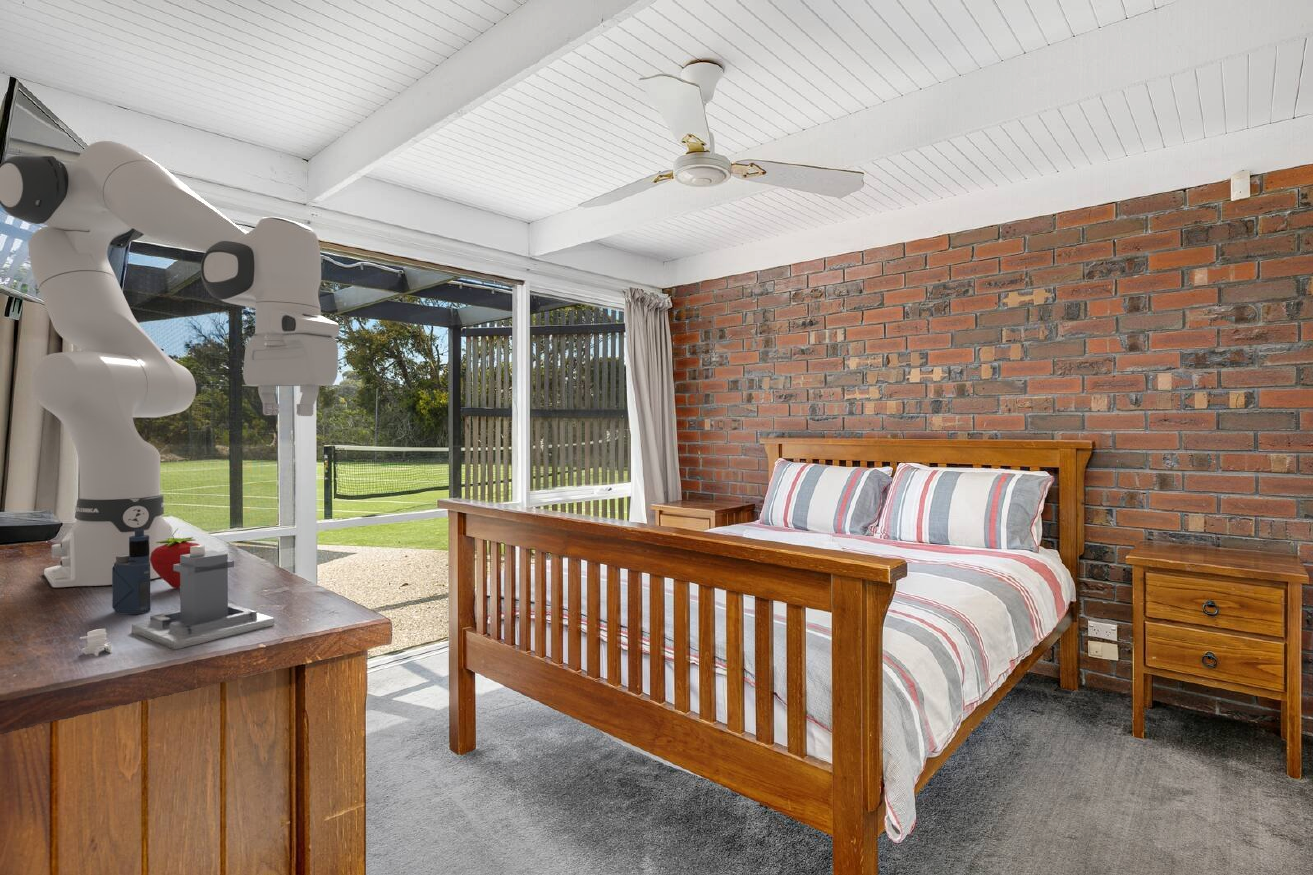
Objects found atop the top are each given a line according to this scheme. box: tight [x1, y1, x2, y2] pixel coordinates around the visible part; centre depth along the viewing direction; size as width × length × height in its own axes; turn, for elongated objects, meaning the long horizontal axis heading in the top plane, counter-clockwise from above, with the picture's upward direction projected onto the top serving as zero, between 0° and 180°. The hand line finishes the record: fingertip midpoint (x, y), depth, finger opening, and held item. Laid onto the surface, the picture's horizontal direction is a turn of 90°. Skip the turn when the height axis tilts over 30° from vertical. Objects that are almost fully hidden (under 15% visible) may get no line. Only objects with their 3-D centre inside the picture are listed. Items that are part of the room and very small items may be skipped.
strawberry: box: [150, 529, 200, 589], centre depth 112 cm, size 6×8×10 cm
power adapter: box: [79, 628, 113, 657], centre depth 81 cm, size 3×3×3 cm
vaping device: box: [111, 529, 151, 615], centre depth 98 cm, size 3×5×12 cm, turn 79°
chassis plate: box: [131, 602, 275, 651], centre depth 91 cm, size 12×12×2 cm
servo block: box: [173, 544, 235, 625], centre depth 91 cm, size 4×6×11 cm
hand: (287, 415), depth 104 cm, fingers open, 8 cm apart
